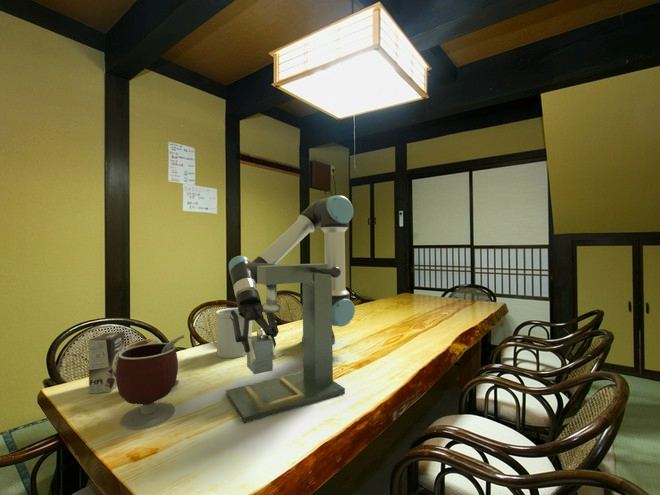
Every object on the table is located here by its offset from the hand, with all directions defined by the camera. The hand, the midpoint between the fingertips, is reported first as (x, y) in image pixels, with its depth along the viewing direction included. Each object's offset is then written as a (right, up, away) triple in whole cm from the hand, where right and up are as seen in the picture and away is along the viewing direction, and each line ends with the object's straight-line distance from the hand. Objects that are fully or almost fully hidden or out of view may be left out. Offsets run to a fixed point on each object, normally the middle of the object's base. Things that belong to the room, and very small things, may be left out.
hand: (263, 359), depth 93 cm
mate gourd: (-27, -12, -9) cm, 31 cm away
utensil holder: (-20, -12, +41) cm, 47 cm away
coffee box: (-51, -12, +9) cm, 53 cm away
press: (+8, -11, -2) cm, 14 cm away
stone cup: (-37, -12, +7) cm, 39 cm away
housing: (-2, -4, +3) cm, 5 cm away
